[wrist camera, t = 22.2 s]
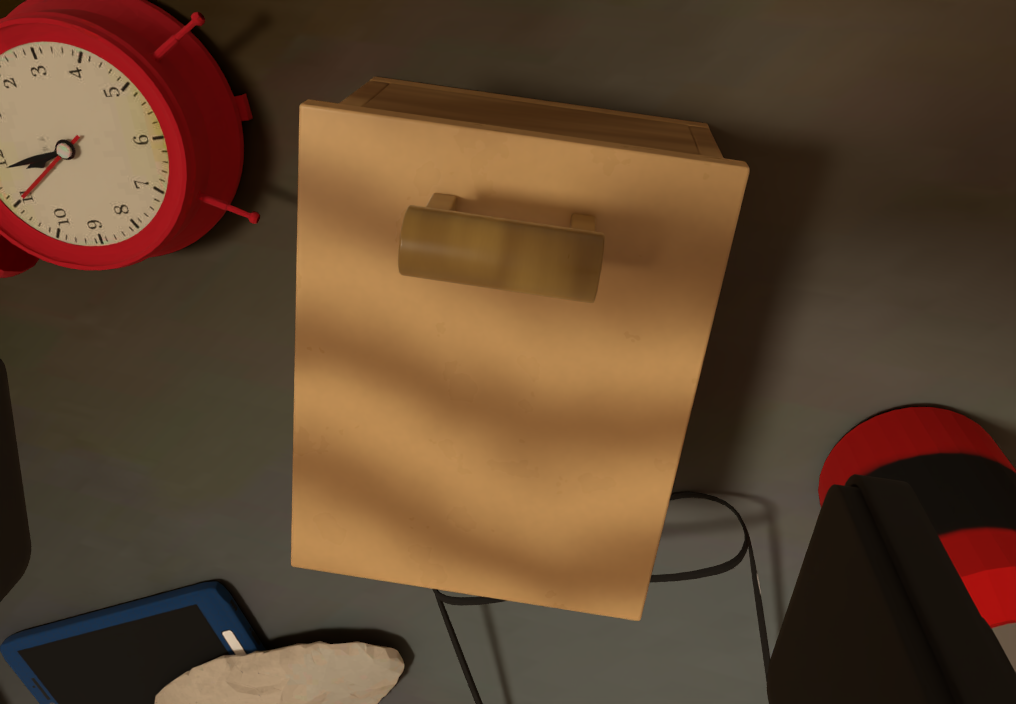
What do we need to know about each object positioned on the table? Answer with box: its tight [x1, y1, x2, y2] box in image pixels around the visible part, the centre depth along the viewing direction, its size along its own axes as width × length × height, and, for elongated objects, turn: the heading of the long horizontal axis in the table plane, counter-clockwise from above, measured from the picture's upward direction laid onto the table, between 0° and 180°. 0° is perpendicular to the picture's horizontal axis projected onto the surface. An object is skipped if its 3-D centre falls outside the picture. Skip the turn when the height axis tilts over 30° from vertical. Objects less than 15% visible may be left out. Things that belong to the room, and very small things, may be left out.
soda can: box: [818, 407, 1016, 672], centre depth 34 cm, size 8×8×12 cm
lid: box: [291, 99, 750, 621], centre depth 27 cm, size 16×13×5 cm
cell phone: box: [0, 581, 266, 704], centre depth 48 cm, size 7×14×1 cm, turn 111°
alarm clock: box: [0, 0, 260, 278], centre depth 34 cm, size 10×6×15 cm
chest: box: [339, 77, 723, 158], centre depth 34 cm, size 16×13×9 cm
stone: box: [155, 641, 404, 704], centre depth 47 cm, size 8×14×2 cm, turn 119°
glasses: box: [433, 492, 770, 704], centre depth 43 cm, size 14×15×5 cm
